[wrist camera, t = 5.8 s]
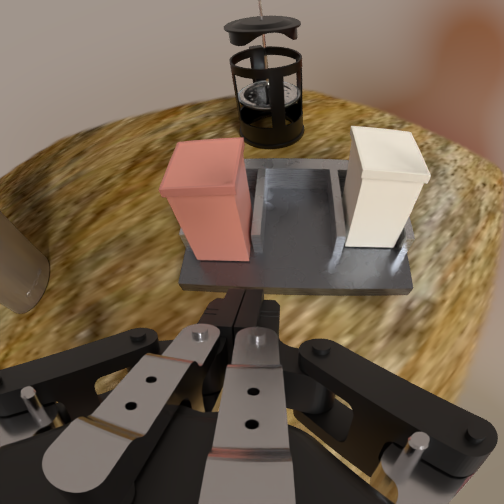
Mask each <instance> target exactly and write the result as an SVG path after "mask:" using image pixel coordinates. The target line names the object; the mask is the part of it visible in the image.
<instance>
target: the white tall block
mask: <svg viewBox="0 0 504 504" xmlns="http://www.w3.org/2000/svg"><path fill="white" fill-rule="evenodd" d="M350 135H351V139H352V144H351V150H350V157H349V163H348V169H347V175H346V180H345V186H344V191H343V197H342V206H343V214H344V222H345V231H346V239H345V246H348V247H391V248H394V246H395V244H396V242H397V240H398V238H399V236H400V234H401V232H402V230H403V228H404V226H405V224H406V222H407V219H408V217H409V215H410V213H411V211H412V209H413V207H414V204H415V202H416V200H417V198H418V196H419V193H420V191H421V189H422V186H423V184H424V183H428V181H429V179H430V177H431V175H430V173H429V170H428V168H427V166H426V163H425V161H424V159H423V157H422V154H421V152H420V150H419V148H418V146H417V144H416V142H415V140H414V138H413V136H412V134H411V132H406V131H398V130H390V129H380V128H370V127H358V126H351V130H350Z"/></svg>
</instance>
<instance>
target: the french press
mask: <svg viewBox="0 0 504 504" xmlns="http://www.w3.org/2000/svg"><path fill="white" fill-rule="evenodd" d="M258 6H259V14H260V16H257V17H250V18H244V19H239V20H235V21H232V22H230V23H228V24H226V25H225V26H224V30H225V31H227V32H229V38H230V43H231V44H233V45H236V46H244V45H246V44H248V43H250V42H251V41H252V40H254V39H255V38H257V37H259V36H261V35H262V41H263V47H262V46H261V45H257V46H251V47H249V49H247V50H244V51H241V52H238V53H237V54H235V55H233V56H232V57H231V58H230V65H231V72H232V78H233V84H234V90H235V96H236V102H237V108H238V114H239V120H240V136H241V138H242V137H243V138H244V141H245V142H246V143H247V144H249V145H251V146H254V147H257V148H263V149H277V148H283V147H287V146H290V145H292V144H294V143H296V142H297V141H298V140H300V139H301V137H302V136H303V133H304V125H303V111H302V56H301V54H300V53H299V52H297V51H295V50H293V49H289V48H284V47H272V46H269V47H266V41H265V34H267V33H274V32H275V33H282V34H285V35H286V36H287V37H289V38H291V39H293V40H295V39H297V27H299V26H300V25H301V23H300V21H299V20H297V19H295V18H291V17H283V16H263V13H262V5H261V0H258ZM267 55H282V56H287V57H291V58H293V59H296V62H295V63H293V64H290V65H287V66H283V67H277V68H268V62H267ZM246 58H250V62H251V69H250V68H242V67H238V66H235V64H236V63H238V62H239V61H241V60H244V59H246ZM294 73H296V75H297V87H296V86H295V85H293V84H290V83H287V82H284V81H283V77H284V76H288V75H291V74H294ZM235 75H237V76H240V77H244V78H250V79H253V84H250V85H247V86H246V87H244V88H242V89H241V90H240V91H239V93H238V91H237V85H236V79H235ZM239 102H240V103H241V104H242V105H243V107H242V108H241V109H240V104H239ZM296 102H297V103H296ZM269 116H272V127H273V128H260V127H255V126H251V124H252V123H253V122H254V121H256V120H258V119H260V118H264V117H269ZM285 118H286V119H288V120H290V121H291V122H293V123H291V124H288V125H286V121H285Z"/></svg>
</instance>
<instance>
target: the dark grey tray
mask: <svg viewBox="0 0 504 504" xmlns="http://www.w3.org/2000/svg"><path fill="white" fill-rule="evenodd" d="M244 163H245V169H246V175H247V181H248V187H249V193H250V199H251V205H252V211H253V220H252V229H251V238H252V239H251V248H250V258H249V261H222V260H197V258H196V256H195V254H194V252H193V250H192V248H191V246H190V244H189V242H188V240H187V238H186V236H185V234H184V232H183V230H182V228H181V229H180V232H179V235H180V237H181V239H182V241H183V243H184V245H185V247H186V251H185V255H184V260H183V264H182V268H181V273H180V278H179V282H178V284H179V285H180V287H181V288H182V289H183V290H189V291H207V292H228V289H229V288H238V289H246V290H247V289H264V294H283V295H408V294H409V293H410V292H411V290H412V289H413V284H412V278H411V272H410V267H409V261H408V256H407V251H408V250H409V248H410V246H411V245H412V243H413V241H414V239H415V237H414V233H413V229H412V225H411V221H410V217H408V219H407V222H406V224H405V226H404V228H403V230H402V232H401V234H400V236H399V238H398V240H397V242H396V244H395V246H394V248H391V247H348V246H345V239H346V231H345V222H344V214H343V206H342V197H343V191H344V186H345V180H346V175H347V169H348V163H349V160H334V159H295V158H269V159H244Z"/></svg>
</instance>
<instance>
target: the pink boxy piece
mask: <svg viewBox="0 0 504 504" xmlns="http://www.w3.org/2000/svg"><path fill="white" fill-rule="evenodd" d="M244 146H245V145H244V138H243V137H242V138H223V139H208V140H195V141H185V142H178V143H177V145H176V148H175V150H174V152H173V155H172V157H171V160H170V162H169V165H168V167H167V170H166V172H165V175H164V177H163V180H162V182H161V185H160V188H159V192H160V194H161V196H162V197H167V199H168V201H169V204H170V206H171V208H172V210H173V212H174V214H175V216H176V218H177V220H178V222H179V224H180V226H181V228H182V230H183V232H184V234H185V236H186V238H187V240H188V242H189V244H190V246H191V248H192V250H193V252H194V254H195V256H196V258H197V260H222V261H249V258H250V248H251V239H252V238H251V229H252V220H253V211H252V205H251V199H250V193H249V187H248V181H247V175H246V169H245V163H244V157H243V152H244Z"/></svg>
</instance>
